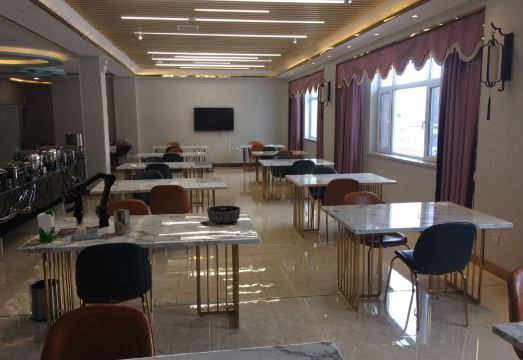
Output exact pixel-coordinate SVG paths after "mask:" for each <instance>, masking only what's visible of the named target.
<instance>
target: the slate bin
mask: <svg viewBox="0 0 523 360" xmlns="http://www.w3.org/2000/svg"><path fill="white" fill-rule="evenodd" d="M99 234H100V227H98V228H97V227H96V228H95V227H94V228H88V229H86V234H81V235H78V230H76V233H75V234H73V235H74V241H82V240H85V241H86V240H96V239H99Z"/></svg>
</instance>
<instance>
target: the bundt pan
mask: <svg viewBox="0 0 523 360" xmlns="http://www.w3.org/2000/svg"><path fill="white" fill-rule="evenodd" d="M205 211H206V213H207V218H208V220H209V221H210V222H212V223H216V224H228V223H229V224H230V223H234V222H237V221H238V220H239V218H240V213H241V207H239V206H236V205H215V206H209V207H208V208H207V207H206V210H205Z"/></svg>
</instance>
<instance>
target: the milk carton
mask: <svg viewBox="0 0 523 360" xmlns="http://www.w3.org/2000/svg"><path fill="white" fill-rule="evenodd" d="M36 217H37V222H38V223H37V224H38V225H37V226H38V236H39V242H40V243H52V242H54V240H56V230H55V229H56V227H55V226H56V225H55V212H53V210H52V209H47V210H45V212H41V213H38V214H37V215H36Z"/></svg>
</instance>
